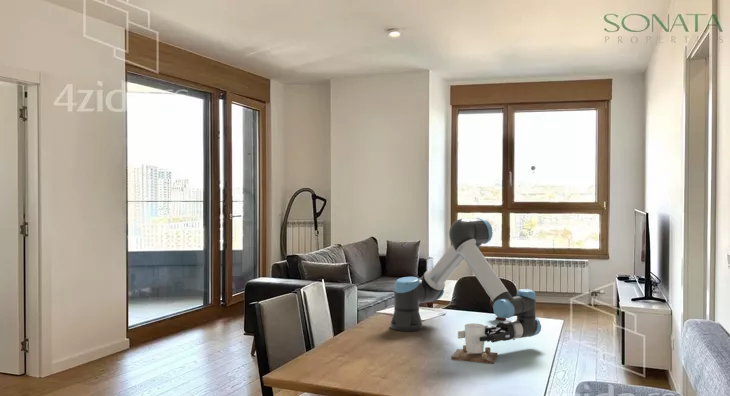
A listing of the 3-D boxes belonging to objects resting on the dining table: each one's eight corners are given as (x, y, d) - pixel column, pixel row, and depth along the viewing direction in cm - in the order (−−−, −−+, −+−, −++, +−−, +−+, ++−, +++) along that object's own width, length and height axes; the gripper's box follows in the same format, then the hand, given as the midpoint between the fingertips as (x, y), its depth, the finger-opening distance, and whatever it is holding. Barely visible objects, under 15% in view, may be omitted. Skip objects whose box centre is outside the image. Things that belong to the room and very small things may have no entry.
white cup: (485, 354, 221) (485, 328, 221) (464, 353, 223) (464, 327, 223) (485, 349, 229) (485, 323, 229) (464, 347, 231) (465, 322, 230)
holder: (451, 359, 223) (451, 351, 223) (457, 351, 234) (457, 343, 234) (493, 363, 218) (493, 356, 218) (497, 355, 229) (497, 347, 229)
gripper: (527, 345, 226) (483, 353, 215) (491, 334, 244) (448, 340, 232) (527, 326, 226) (483, 333, 215) (491, 316, 244) (448, 322, 232)
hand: (465, 337), depth 223 cm, fingers closed on white cup, 7 cm apart
